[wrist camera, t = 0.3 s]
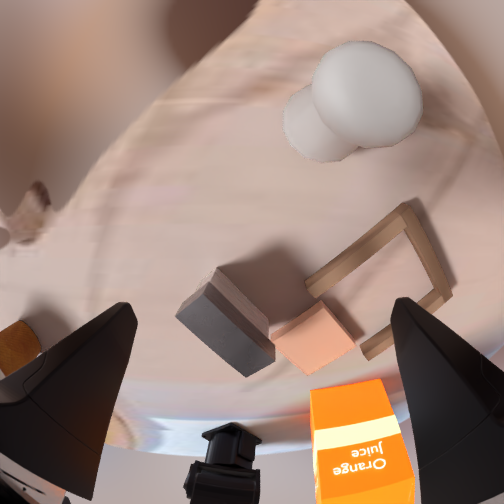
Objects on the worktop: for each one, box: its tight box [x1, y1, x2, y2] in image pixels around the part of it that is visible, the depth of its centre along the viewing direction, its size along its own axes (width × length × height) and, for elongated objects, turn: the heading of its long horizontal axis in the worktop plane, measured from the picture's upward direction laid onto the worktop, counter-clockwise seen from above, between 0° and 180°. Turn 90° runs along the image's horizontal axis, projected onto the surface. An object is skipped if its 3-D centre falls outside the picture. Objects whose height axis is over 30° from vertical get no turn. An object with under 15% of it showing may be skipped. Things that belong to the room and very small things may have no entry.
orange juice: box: [310, 379, 415, 504], centre depth 19 cm, size 8×9×20 cm
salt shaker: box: [283, 41, 423, 163], centre depth 13 cm, size 6×6×13 cm
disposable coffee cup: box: [0, 321, 41, 380], centre depth 25 cm, size 10×10×12 cm
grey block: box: [175, 267, 275, 377], centre depth 22 cm, size 3×8×6 cm, turn 41°
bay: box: [305, 203, 453, 361], centre depth 22 cm, size 11×11×2 cm
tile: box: [271, 300, 356, 376], centre depth 25 cm, size 6×6×2 cm
